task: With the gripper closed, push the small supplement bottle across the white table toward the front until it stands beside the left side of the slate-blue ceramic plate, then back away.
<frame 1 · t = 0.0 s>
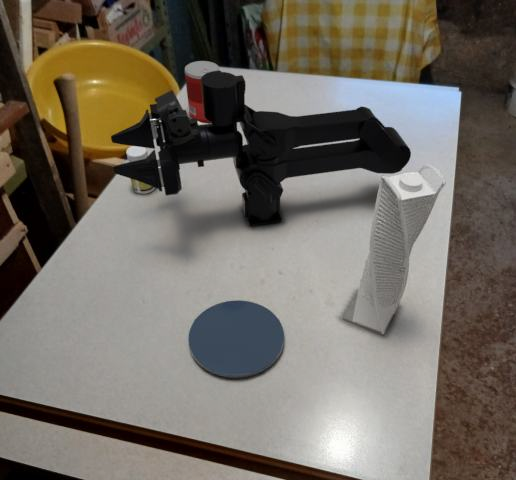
hand: (112, 154, 83), 17 cm above the table, tool horizontal, fingers open, 9 cm apart
plate: (236, 341, 80), on the table
skyscraper: (373, 317, 84), on the table
supplement bottle: (144, 188, 105), on the table
canned food: (206, 116, 123), on the table
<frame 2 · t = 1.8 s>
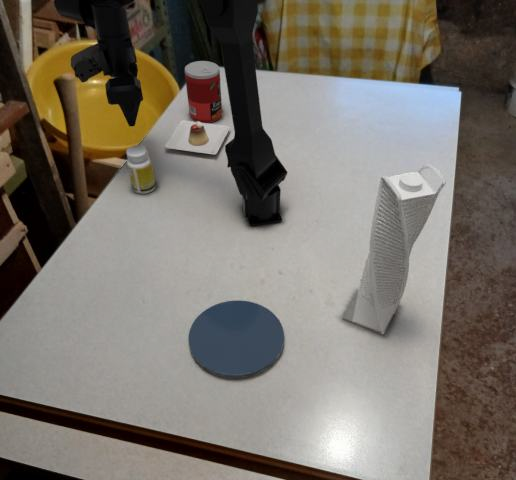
hand: (130, 116, 101), 11 cm above the table, tool pointing down, fingers open, 7 cm apart
nothing on the table moved.
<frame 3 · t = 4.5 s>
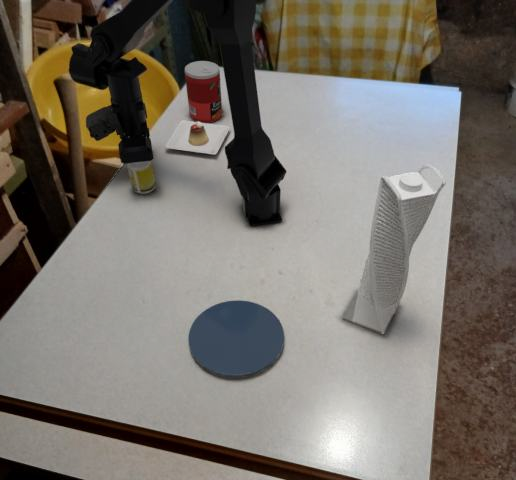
hand: (141, 168, 107), 1 cm above the table, tool pointing down, fingers closed
supplement bottle: (144, 187, 105), on the table, touching gripper
everything else where it was.
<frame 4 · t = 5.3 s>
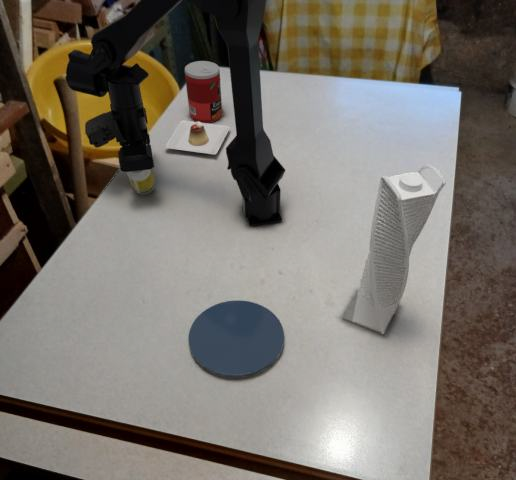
hand: (141, 174, 105), 2 cm above the table, tool pointing down, fingers closed
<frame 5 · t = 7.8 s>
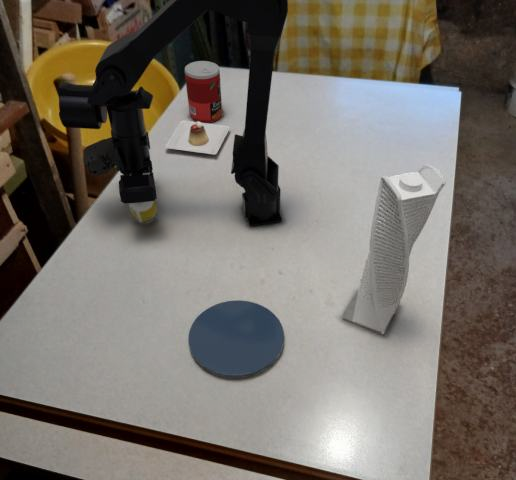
hand: (142, 202, 99), 2 cm above the table, tool pointing down, fingers closed
supplement bottle: (145, 212, 99), point 1 cm above the table, touching gripper
everything else where it was.
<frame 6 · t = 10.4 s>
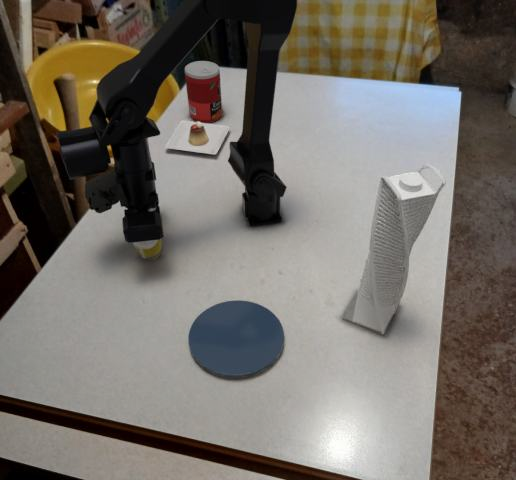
hand: (147, 236, 93), 2 cm above the table, tool pointing down, fingers closed, pressing on supplement bottle
supplement bottle: (149, 247, 92), point 1 cm above the table, touching gripper
everything else where it was.
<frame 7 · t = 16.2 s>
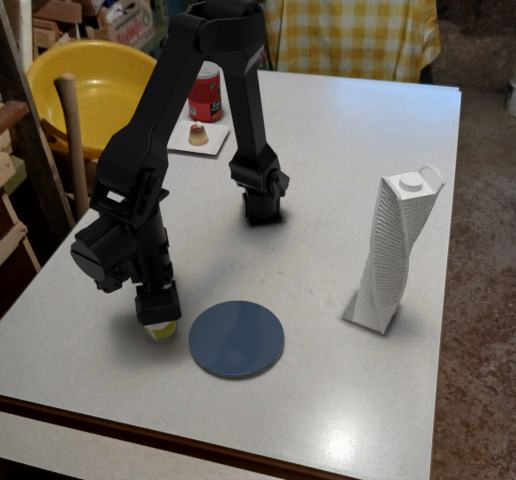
hand: (162, 309, 83), 1 cm above the table, tool pointing down, fingers closed
supplement bottle: (162, 328, 81), point 1 cm above the table, touching gripper
everything else where it was.
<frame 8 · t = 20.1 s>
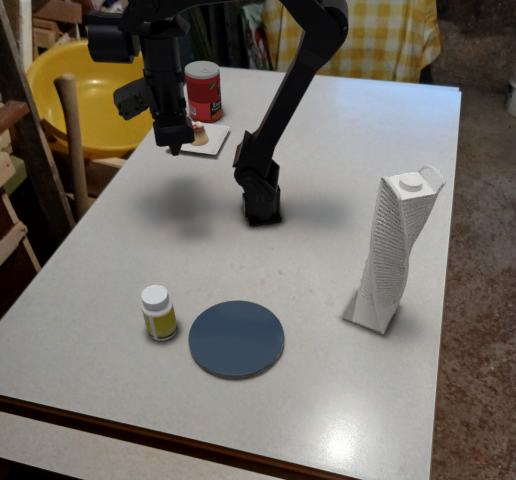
hand: (175, 154, 91), 12 cm above the table, tool pointing down, fingers closed
supplement bottle: (163, 331, 82), on the table
everything else where it was.
at the end: supplement bottle inside the target area on the table beside the plate (3.8 cm from its centre), on the table; supplement bottle tilted 0° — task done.
